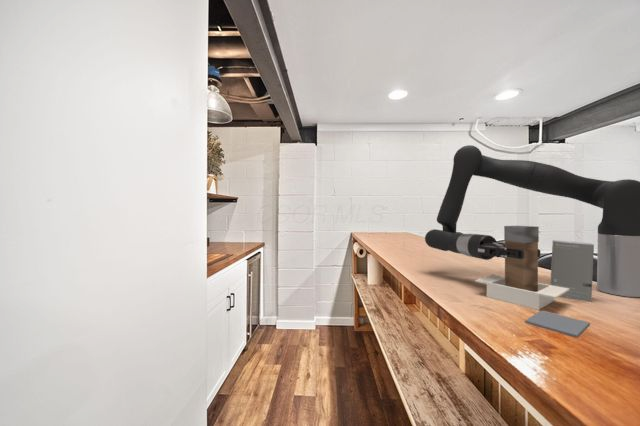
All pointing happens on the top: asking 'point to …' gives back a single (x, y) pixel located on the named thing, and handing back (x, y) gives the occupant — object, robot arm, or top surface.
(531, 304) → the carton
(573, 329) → the mat
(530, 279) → the capped block
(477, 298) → the top surface
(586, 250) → the skincare box
